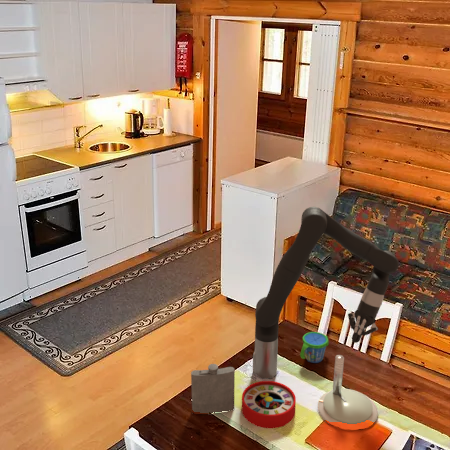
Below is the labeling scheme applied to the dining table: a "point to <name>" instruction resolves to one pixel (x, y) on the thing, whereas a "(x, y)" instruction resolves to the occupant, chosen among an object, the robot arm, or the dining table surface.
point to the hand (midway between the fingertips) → (354, 341)
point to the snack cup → (314, 346)
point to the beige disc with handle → (346, 400)
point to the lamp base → (328, 418)
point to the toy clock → (268, 404)
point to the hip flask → (213, 389)
